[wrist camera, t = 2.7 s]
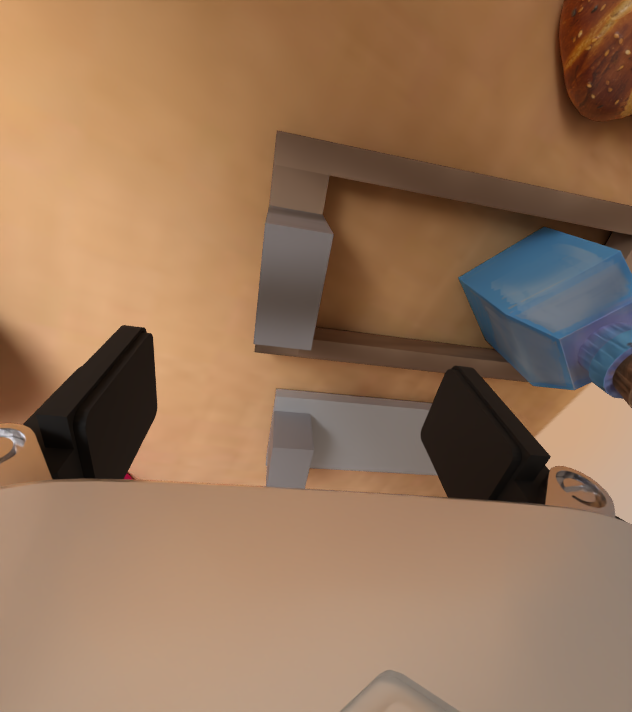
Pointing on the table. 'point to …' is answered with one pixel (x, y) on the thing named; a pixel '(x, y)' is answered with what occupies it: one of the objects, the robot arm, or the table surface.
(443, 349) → the rectangular wooden frame
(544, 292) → the perfume bottle
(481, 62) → the table surface
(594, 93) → the pretzel
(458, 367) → the robot arm
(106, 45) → the table surface
